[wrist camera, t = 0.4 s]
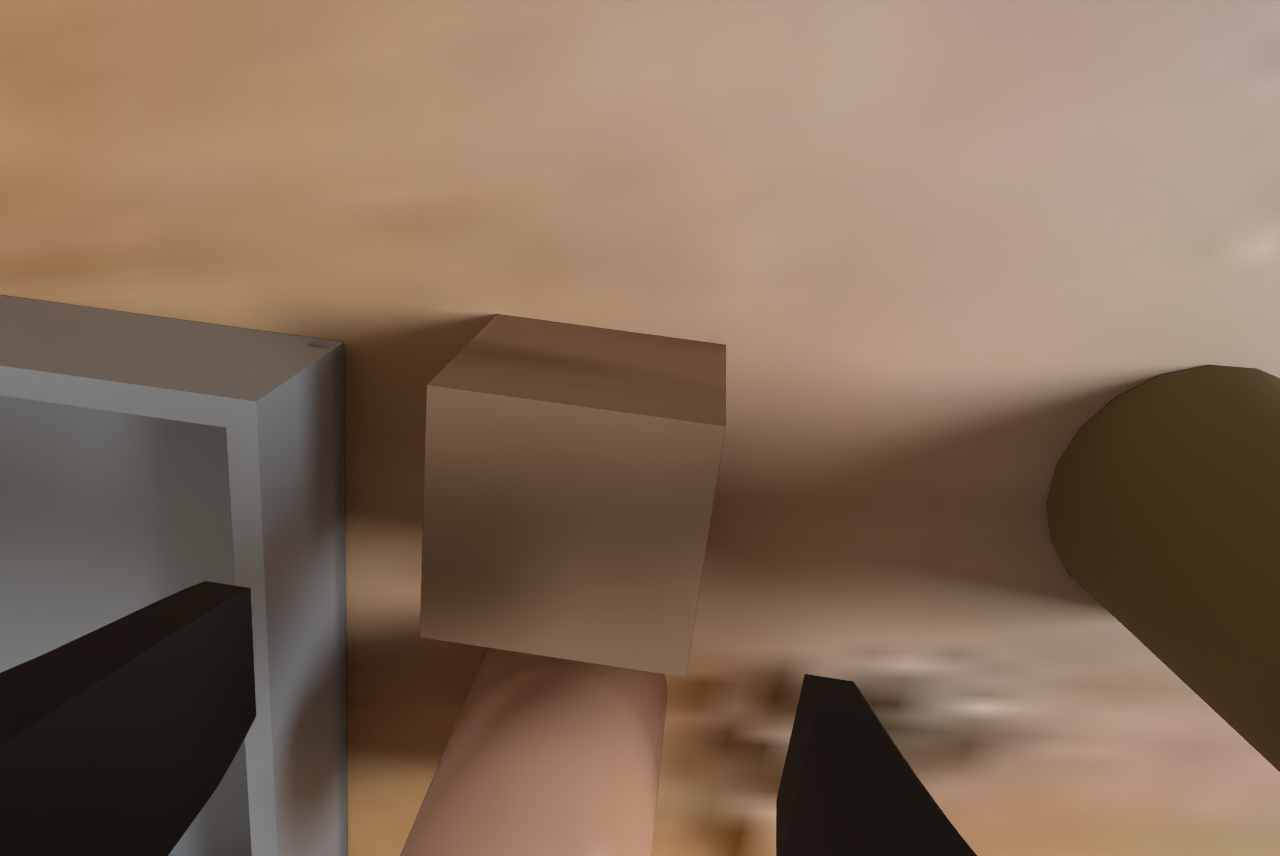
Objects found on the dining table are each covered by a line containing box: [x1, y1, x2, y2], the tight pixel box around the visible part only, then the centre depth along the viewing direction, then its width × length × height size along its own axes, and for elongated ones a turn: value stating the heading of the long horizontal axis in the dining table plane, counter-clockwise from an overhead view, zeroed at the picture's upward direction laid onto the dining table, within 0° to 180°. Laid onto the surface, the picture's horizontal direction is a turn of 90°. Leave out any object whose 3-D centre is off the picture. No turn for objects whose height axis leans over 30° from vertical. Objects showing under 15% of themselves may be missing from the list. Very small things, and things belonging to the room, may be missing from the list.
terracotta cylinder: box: [400, 648, 667, 856], centre depth 20 cm, size 5×5×7 cm
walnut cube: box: [420, 314, 726, 677], centre depth 18 cm, size 5×5×5 cm
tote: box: [0, 295, 348, 856], centre depth 21 cm, size 16×13×4 cm
